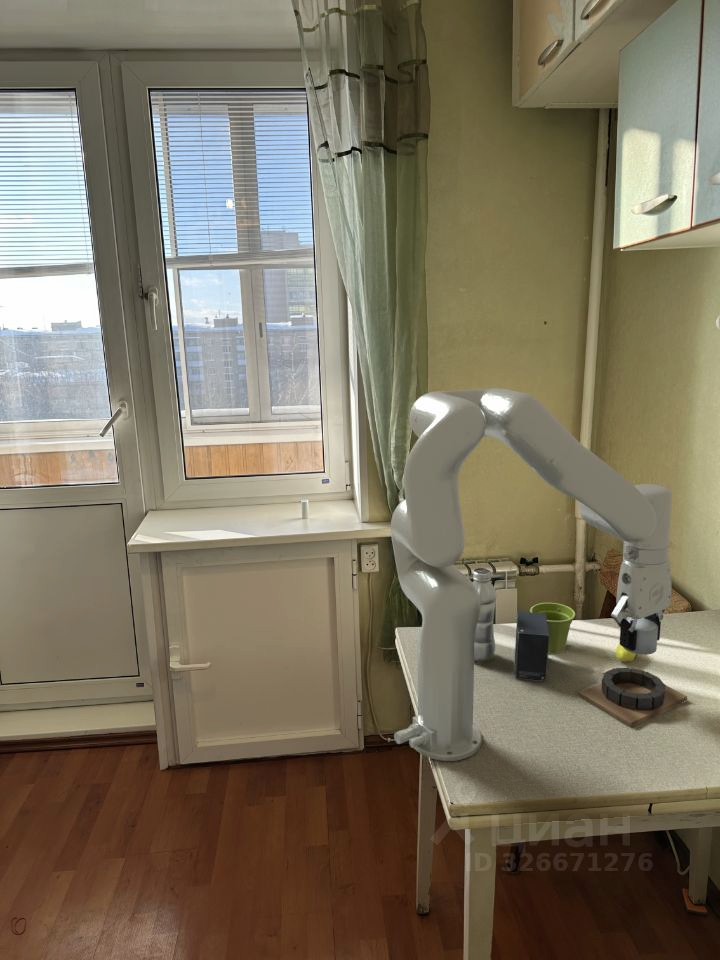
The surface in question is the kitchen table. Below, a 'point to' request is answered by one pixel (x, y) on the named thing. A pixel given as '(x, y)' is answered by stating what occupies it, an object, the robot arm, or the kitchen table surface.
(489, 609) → the plastic bottle
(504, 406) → the robot arm
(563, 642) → the plant pot
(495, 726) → the kitchen table surface
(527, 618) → the small box
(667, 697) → the board
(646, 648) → the cap
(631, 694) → the segmented ring
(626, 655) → the lemon
